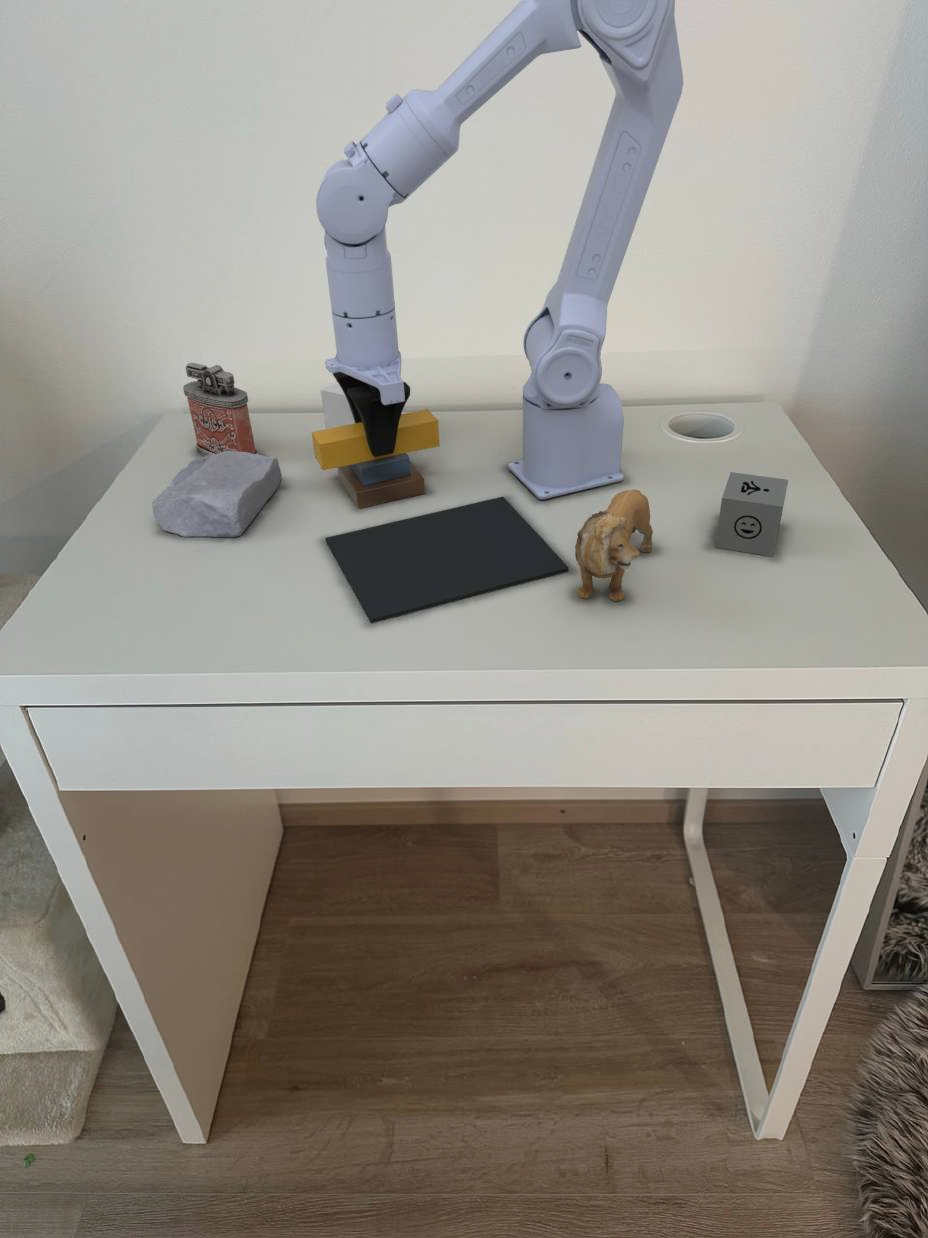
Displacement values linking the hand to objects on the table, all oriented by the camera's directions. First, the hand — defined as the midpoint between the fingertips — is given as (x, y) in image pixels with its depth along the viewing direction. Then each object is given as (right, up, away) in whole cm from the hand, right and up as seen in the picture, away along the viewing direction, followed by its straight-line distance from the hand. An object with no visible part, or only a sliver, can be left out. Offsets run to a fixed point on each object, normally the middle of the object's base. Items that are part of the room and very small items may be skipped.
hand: (377, 446), depth 92 cm
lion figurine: (+22, -14, -12) cm, 29 cm away
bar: (0, -1, 0) cm, 1 cm away
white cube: (-2, +3, +12) cm, 13 cm away
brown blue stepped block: (0, -4, +3) cm, 4 cm away
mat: (+7, -11, -8) cm, 16 cm away
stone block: (-16, -6, 0) cm, 17 cm away
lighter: (-17, +1, +10) cm, 20 cm away
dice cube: (+34, -10, -8) cm, 36 cm away
